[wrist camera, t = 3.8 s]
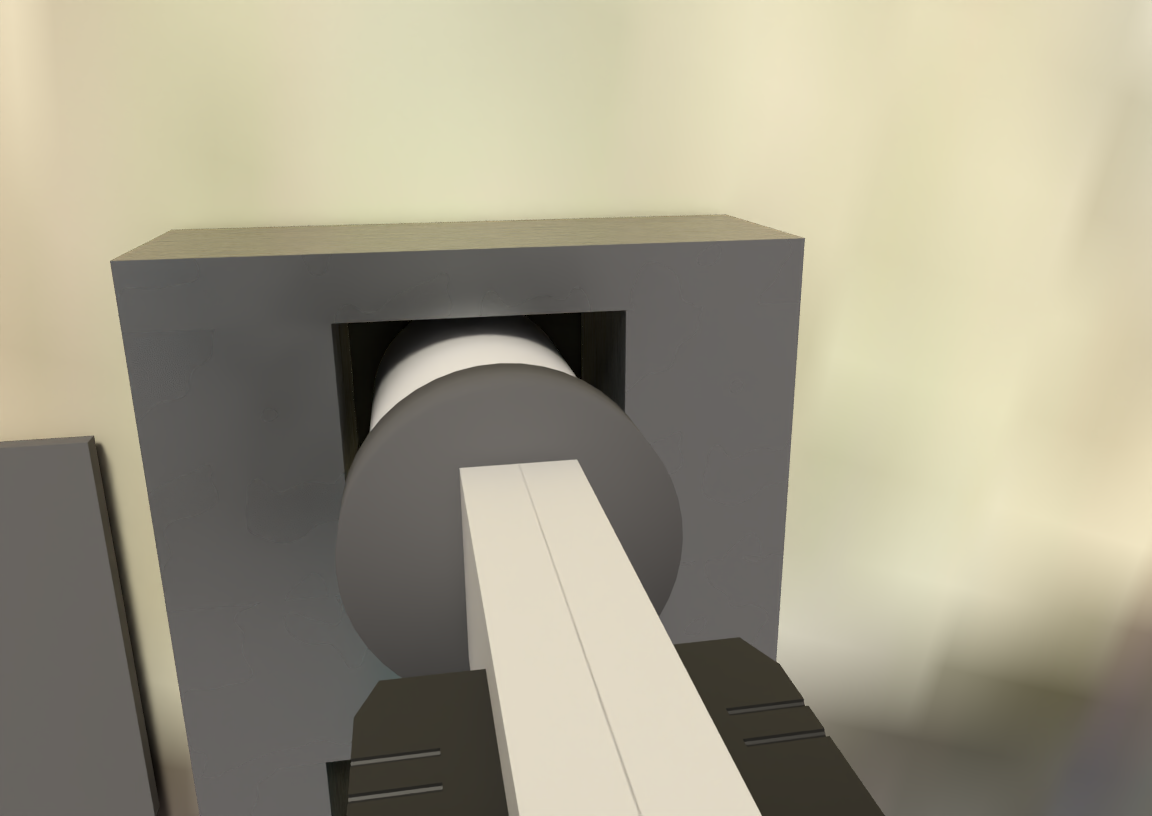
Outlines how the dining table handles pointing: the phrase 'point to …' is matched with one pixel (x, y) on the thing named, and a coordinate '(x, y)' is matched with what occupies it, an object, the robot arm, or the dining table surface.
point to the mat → (65, 643)
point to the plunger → (472, 439)
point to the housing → (330, 442)
